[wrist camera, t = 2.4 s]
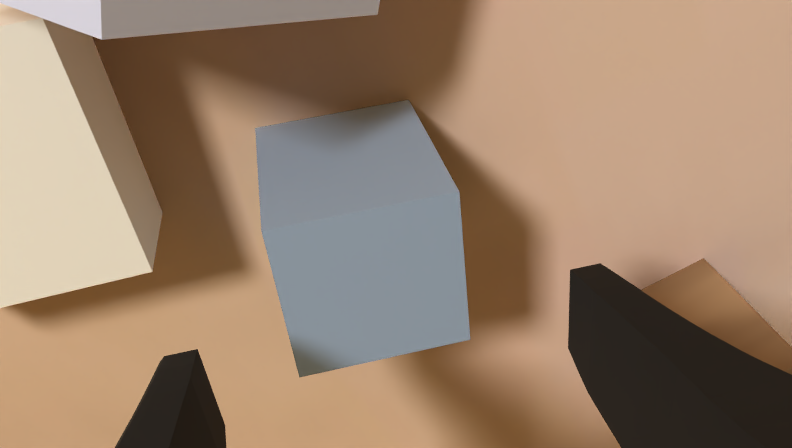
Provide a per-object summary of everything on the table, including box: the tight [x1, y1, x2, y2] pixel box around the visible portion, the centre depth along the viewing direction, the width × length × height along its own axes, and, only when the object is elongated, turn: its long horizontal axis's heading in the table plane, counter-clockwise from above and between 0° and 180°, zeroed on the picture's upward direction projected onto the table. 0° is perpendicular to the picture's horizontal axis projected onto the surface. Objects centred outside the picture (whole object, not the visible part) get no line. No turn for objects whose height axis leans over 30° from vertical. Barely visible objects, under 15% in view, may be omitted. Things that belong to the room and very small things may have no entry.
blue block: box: [255, 100, 470, 377], centre depth 17 cm, size 4×4×5 cm
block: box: [641, 258, 792, 375], centre depth 23 cm, size 4×4×5 cm
